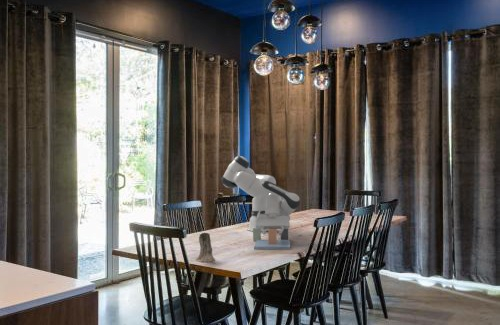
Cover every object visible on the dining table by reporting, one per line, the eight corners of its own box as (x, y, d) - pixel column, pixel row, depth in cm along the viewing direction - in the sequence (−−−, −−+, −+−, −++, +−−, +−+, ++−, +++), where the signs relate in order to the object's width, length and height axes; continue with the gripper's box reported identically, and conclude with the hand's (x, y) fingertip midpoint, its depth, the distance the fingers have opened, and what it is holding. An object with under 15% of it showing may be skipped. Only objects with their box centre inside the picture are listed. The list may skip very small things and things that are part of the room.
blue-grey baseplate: (256, 242, 267) (256, 239, 267) (289, 242, 265) (289, 239, 265) (254, 249, 247) (254, 246, 247) (290, 249, 245) (290, 246, 245)
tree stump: (201, 263, 217) (200, 235, 217) (192, 259, 225) (192, 233, 225) (219, 260, 222) (218, 233, 222) (209, 257, 231) (209, 231, 231)
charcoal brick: (281, 240, 273) (280, 227, 273) (288, 240, 273) (288, 227, 272) (281, 241, 268) (280, 228, 268) (288, 241, 268) (288, 228, 268)
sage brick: (253, 240, 274) (253, 227, 274) (260, 240, 274) (260, 227, 274) (253, 241, 270) (253, 228, 270) (260, 241, 269) (260, 228, 269)
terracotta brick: (268, 242, 259) (268, 228, 258) (276, 242, 258) (276, 228, 258) (268, 243, 254) (268, 230, 254) (276, 243, 254) (276, 230, 254)
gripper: (290, 218, 266) (290, 237, 257) (256, 218, 268) (255, 237, 258) (289, 211, 262) (290, 230, 252) (255, 211, 264) (254, 231, 254)
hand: (272, 234), depth 255 cm, fingers open, 8 cm apart
